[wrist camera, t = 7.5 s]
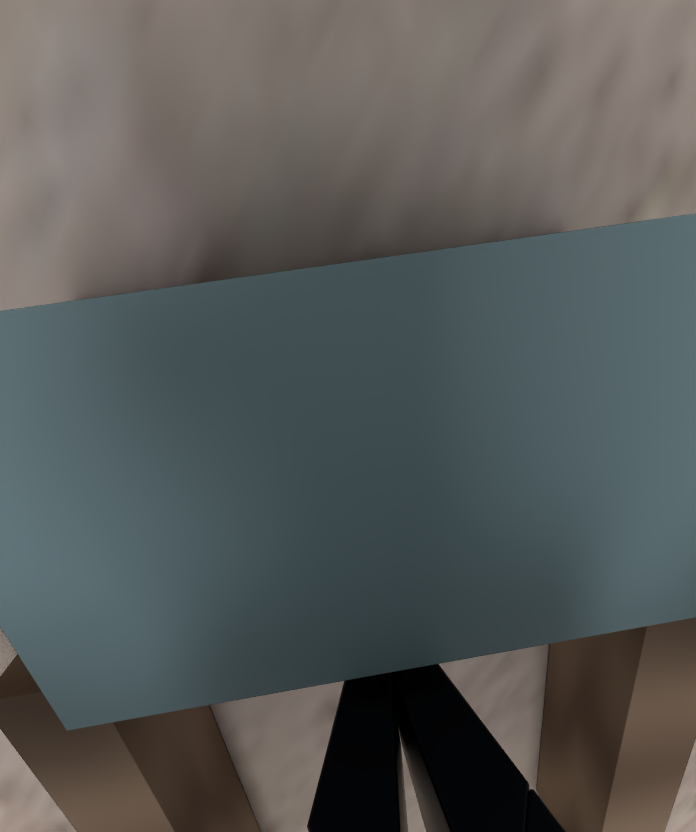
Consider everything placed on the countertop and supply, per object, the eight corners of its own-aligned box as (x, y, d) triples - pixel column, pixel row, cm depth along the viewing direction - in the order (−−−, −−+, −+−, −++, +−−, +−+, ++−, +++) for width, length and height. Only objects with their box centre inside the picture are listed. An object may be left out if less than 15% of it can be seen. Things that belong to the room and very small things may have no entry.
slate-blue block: (550, 486, 10) (695, 617, 6) (161, 550, 10) (66, 730, 6) (570, 231, 8) (813, 197, 4) (65, 302, 7) (-186, 337, 4)
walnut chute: (584, 781, 16) (644, 893, 13) (214, 853, 15) (192, 986, 12) (634, 486, 10) (753, 566, 8) (73, 579, 10) (-19, 702, 7)
